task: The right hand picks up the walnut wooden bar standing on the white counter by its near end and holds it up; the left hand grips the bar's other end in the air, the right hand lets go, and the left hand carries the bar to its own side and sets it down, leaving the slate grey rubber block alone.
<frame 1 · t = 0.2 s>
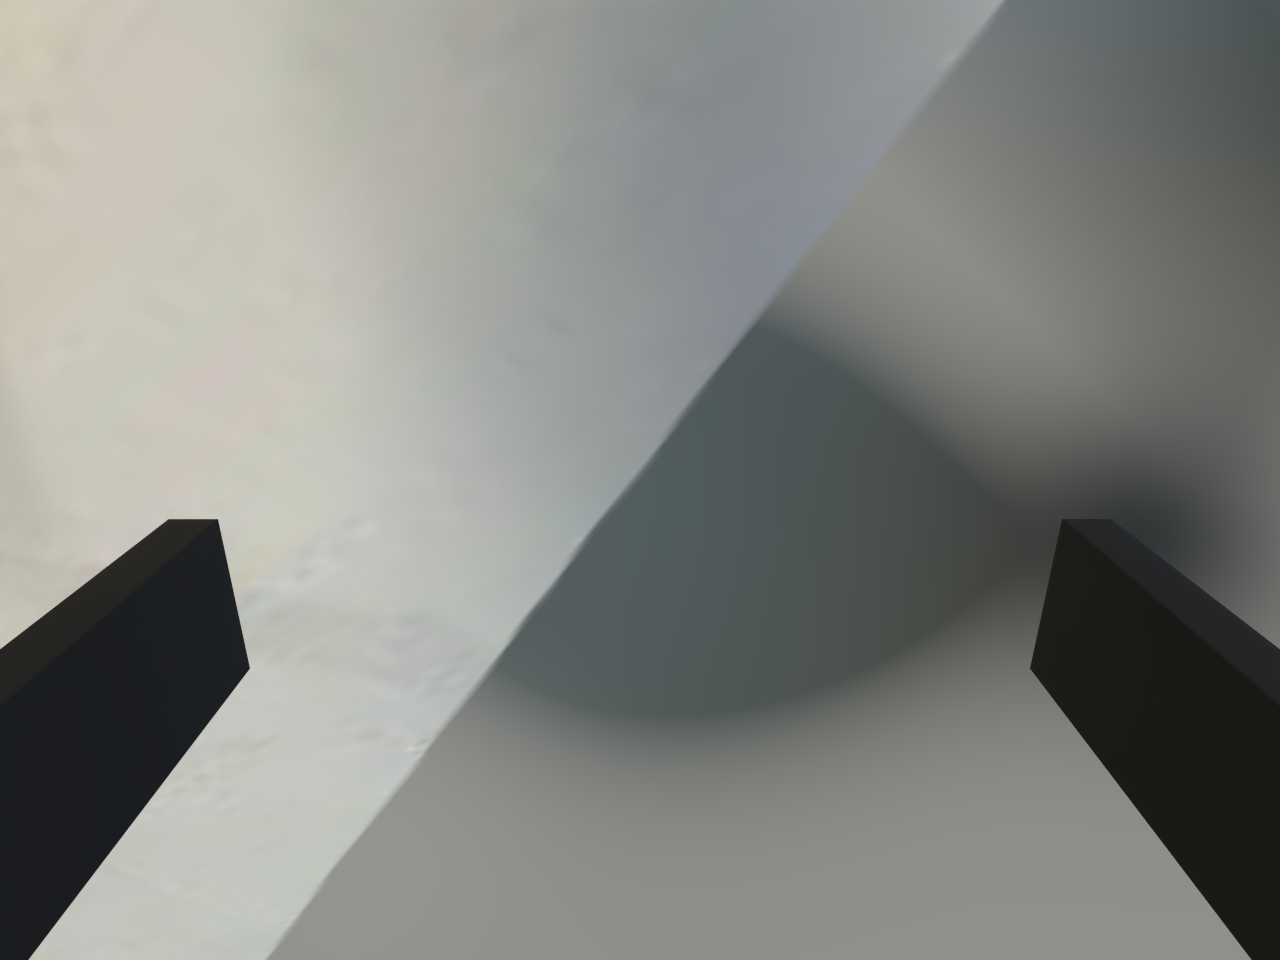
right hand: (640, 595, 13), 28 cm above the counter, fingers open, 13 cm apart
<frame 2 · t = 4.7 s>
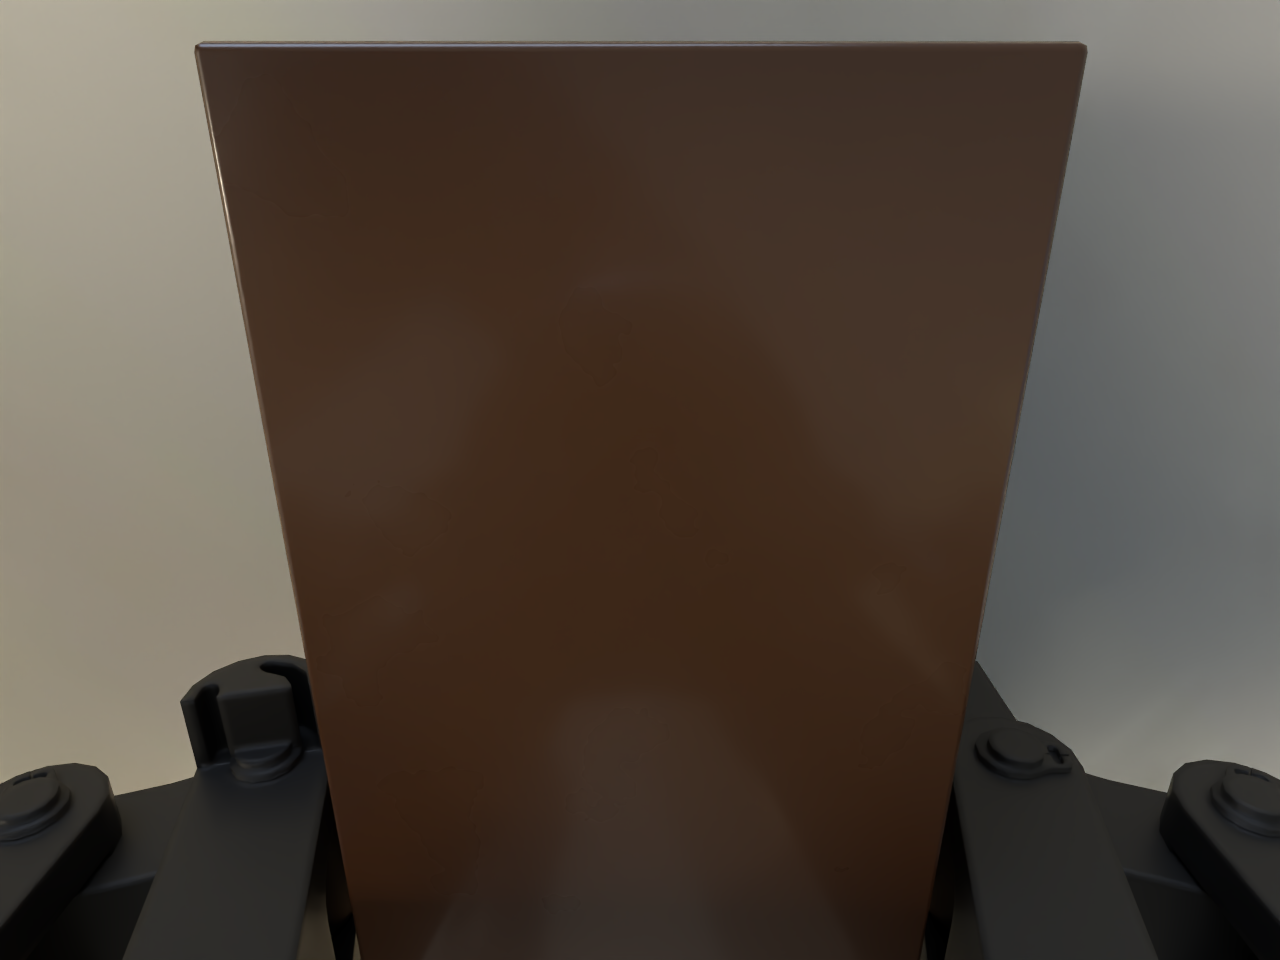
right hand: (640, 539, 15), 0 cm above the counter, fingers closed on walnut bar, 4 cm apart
walnut bar: (639, 920, 19), on the counter, touching right hand
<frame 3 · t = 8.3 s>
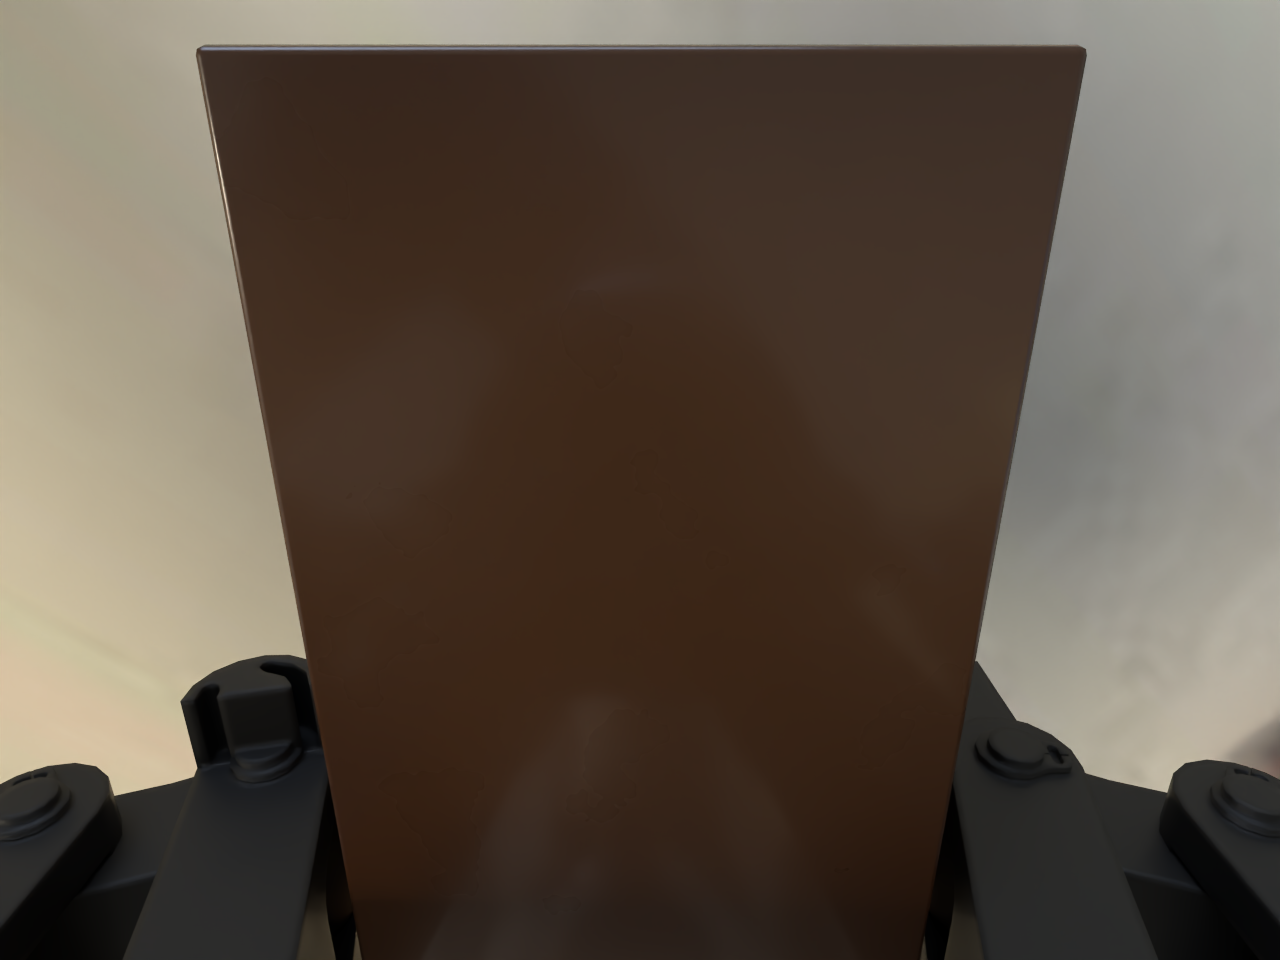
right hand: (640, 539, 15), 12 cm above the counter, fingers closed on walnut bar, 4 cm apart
walnut bar: (640, 920, 19), point 12 cm above the counter, touching right hand
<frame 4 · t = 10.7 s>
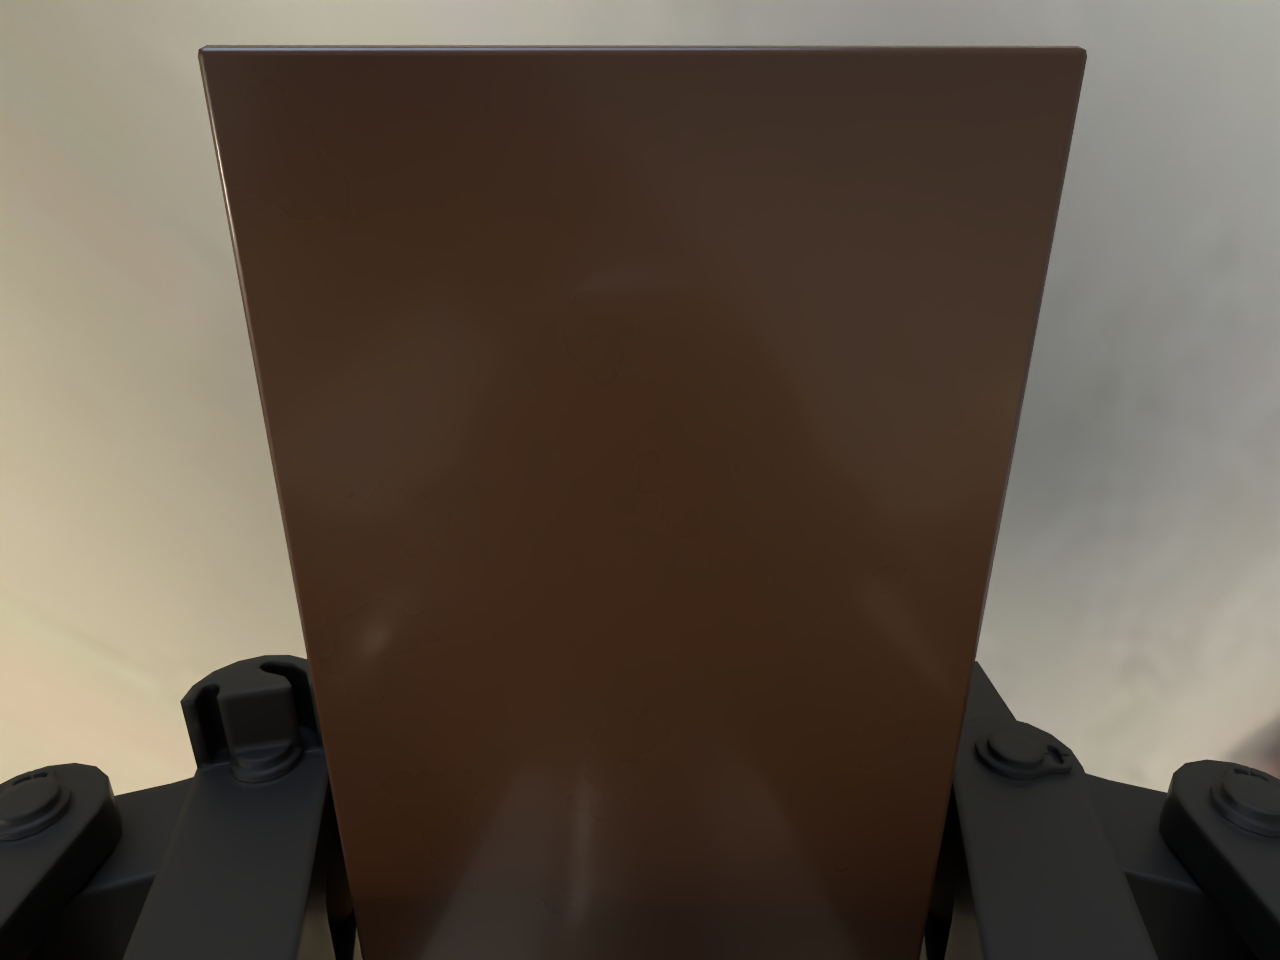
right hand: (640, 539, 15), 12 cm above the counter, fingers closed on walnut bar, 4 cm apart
walnut bar: (639, 919, 19), point 12 cm above the counter, touching right hand, left hand
when the right hand's fingers open (12 cm above the counter, at t = 11.6 s): walnut bar stays where it is, held by the left hand.
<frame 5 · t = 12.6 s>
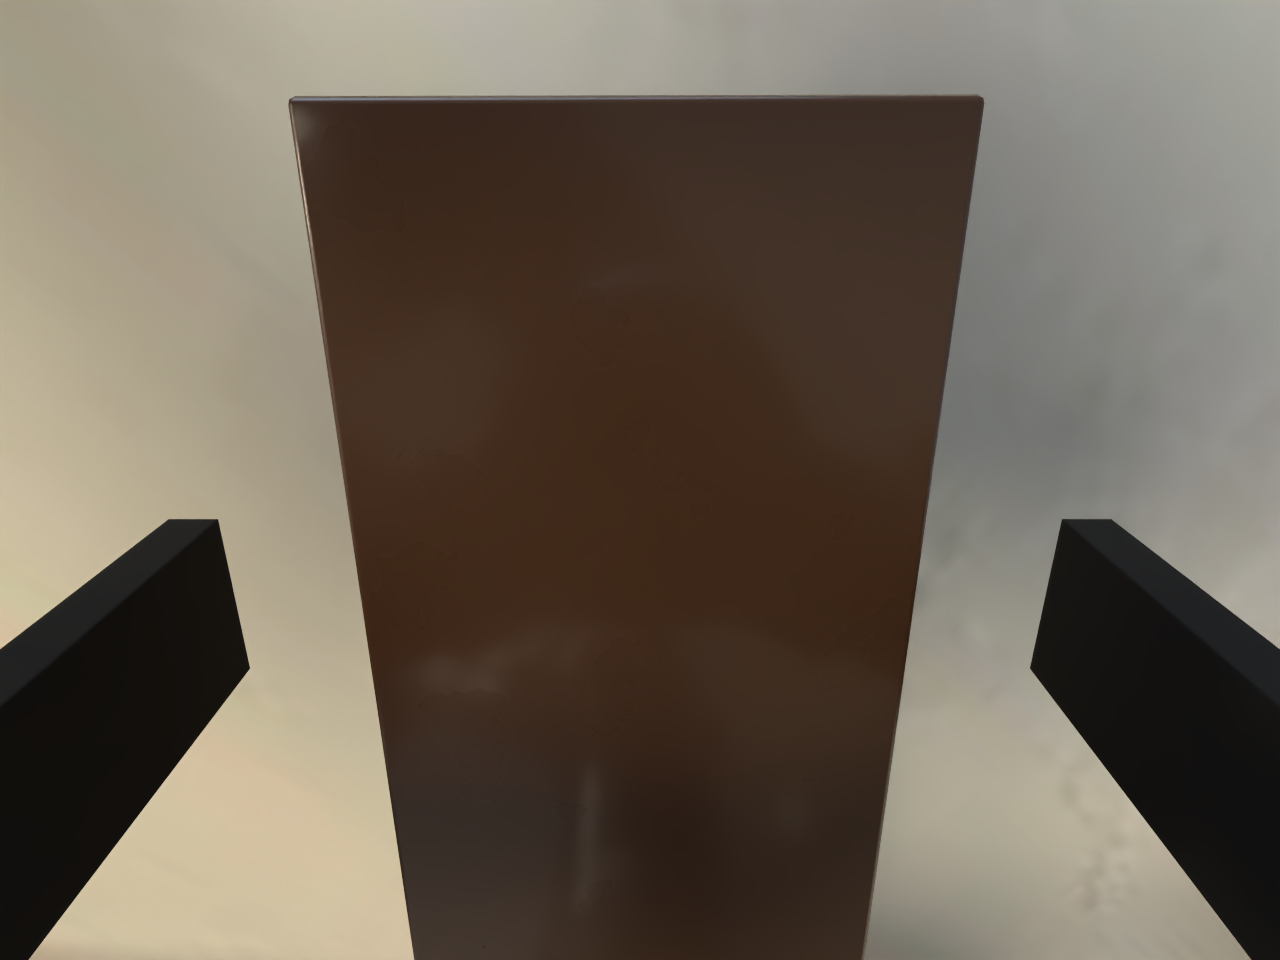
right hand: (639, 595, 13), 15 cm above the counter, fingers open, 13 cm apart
walnut bar: (641, 889, 20), point 12 cm above the counter, touching left hand
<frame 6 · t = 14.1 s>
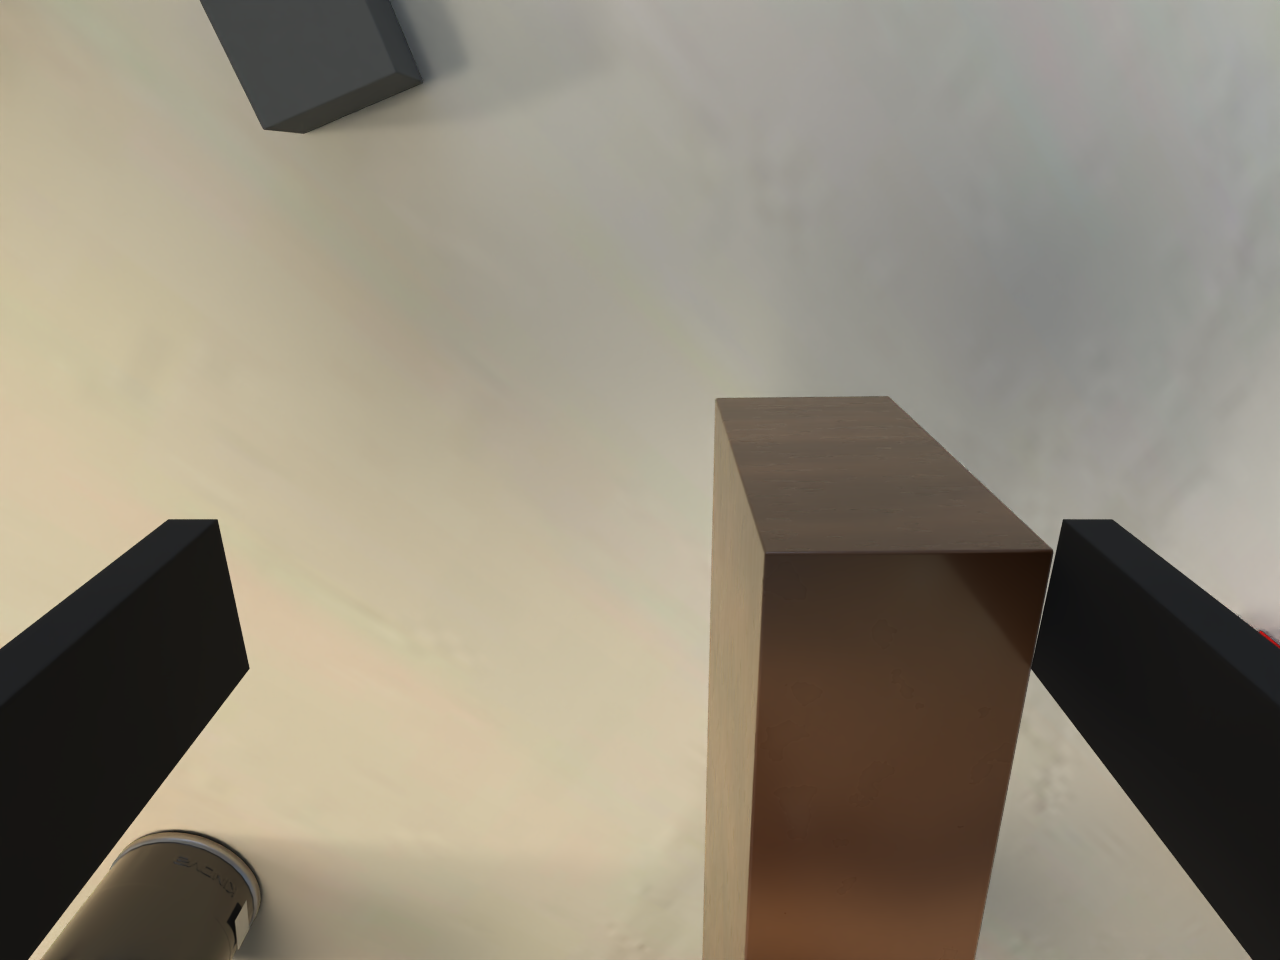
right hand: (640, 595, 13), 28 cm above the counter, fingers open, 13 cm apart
grey block: (330, 36, 35), on the counter
walnut bar: (771, 888, 27), point 19 cm above the counter, touching right hand, left hand
when the left hand's fingers open (6 cm above the counter, at t = 22.7 s): walnut bar stays where it is, on the counter.
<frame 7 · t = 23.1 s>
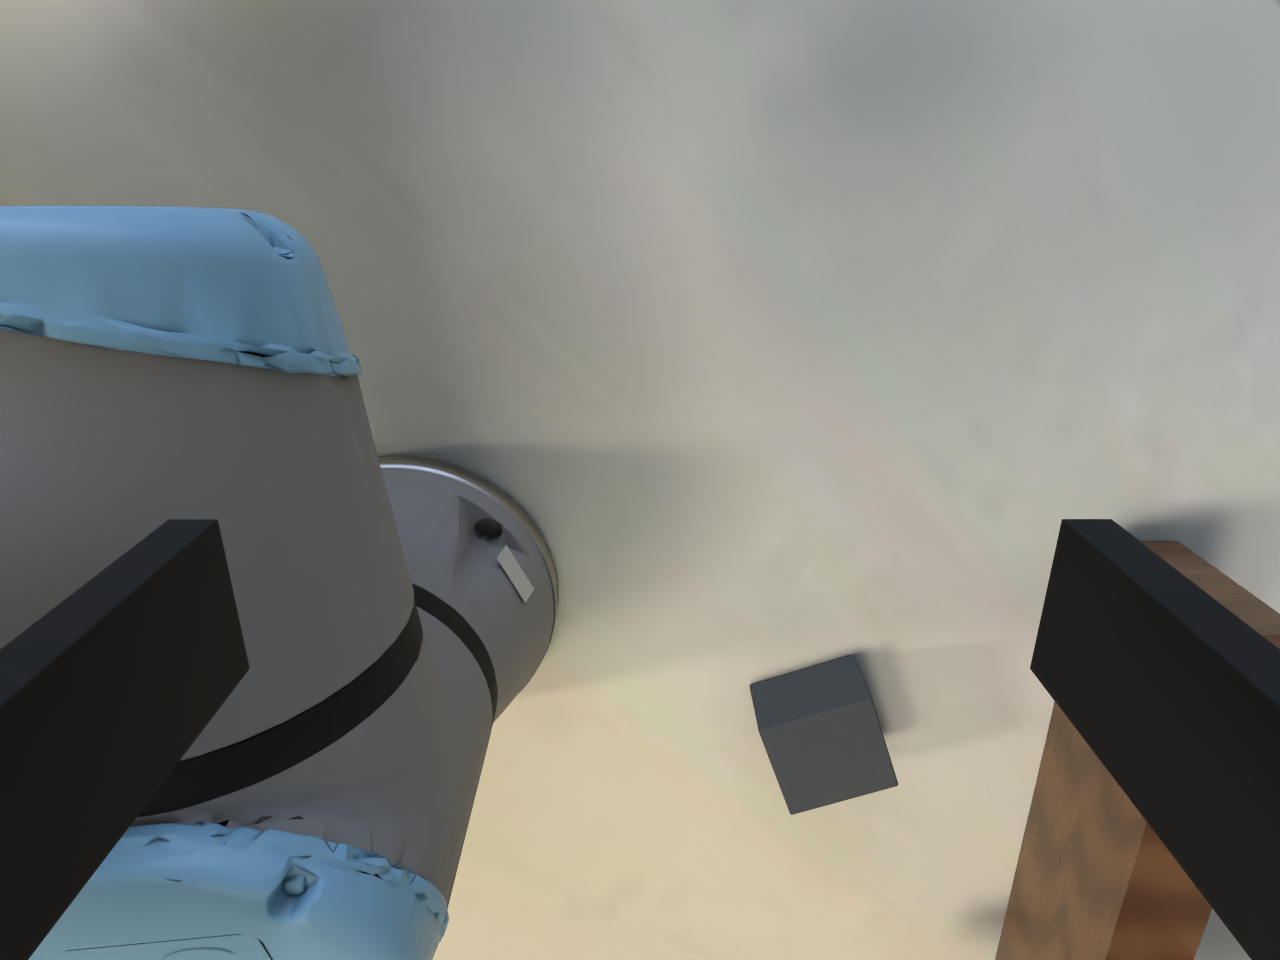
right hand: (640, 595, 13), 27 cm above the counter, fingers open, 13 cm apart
grey block: (814, 710, 46), on the counter
walnut bar: (1070, 795, 48), on the counter
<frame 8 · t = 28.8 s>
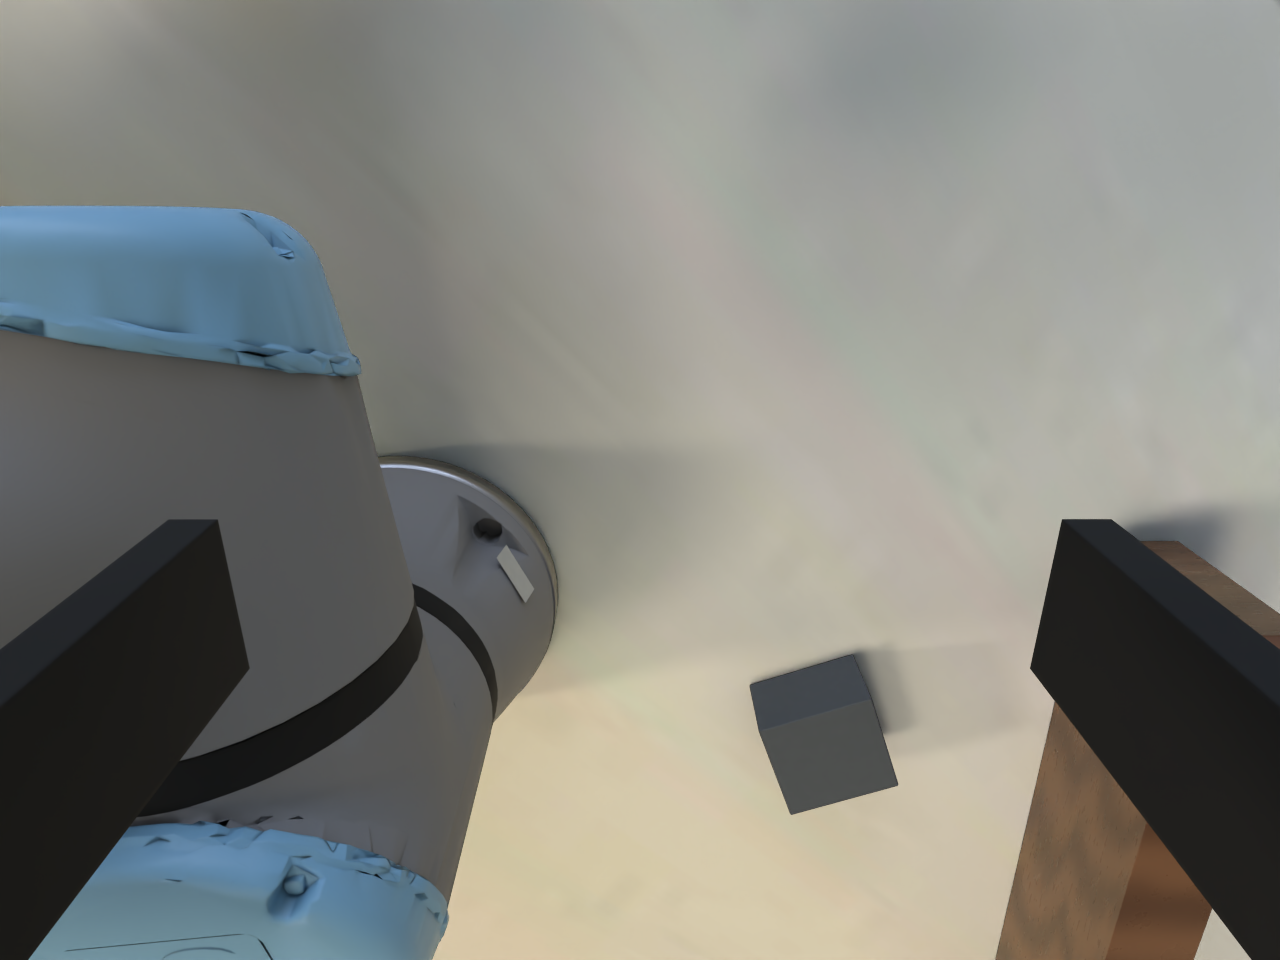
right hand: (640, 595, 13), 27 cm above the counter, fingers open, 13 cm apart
grey block: (814, 710, 46), on the counter
walnut bar: (1070, 795, 48), on the counter
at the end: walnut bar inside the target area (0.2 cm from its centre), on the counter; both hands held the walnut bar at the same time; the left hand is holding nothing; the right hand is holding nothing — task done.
